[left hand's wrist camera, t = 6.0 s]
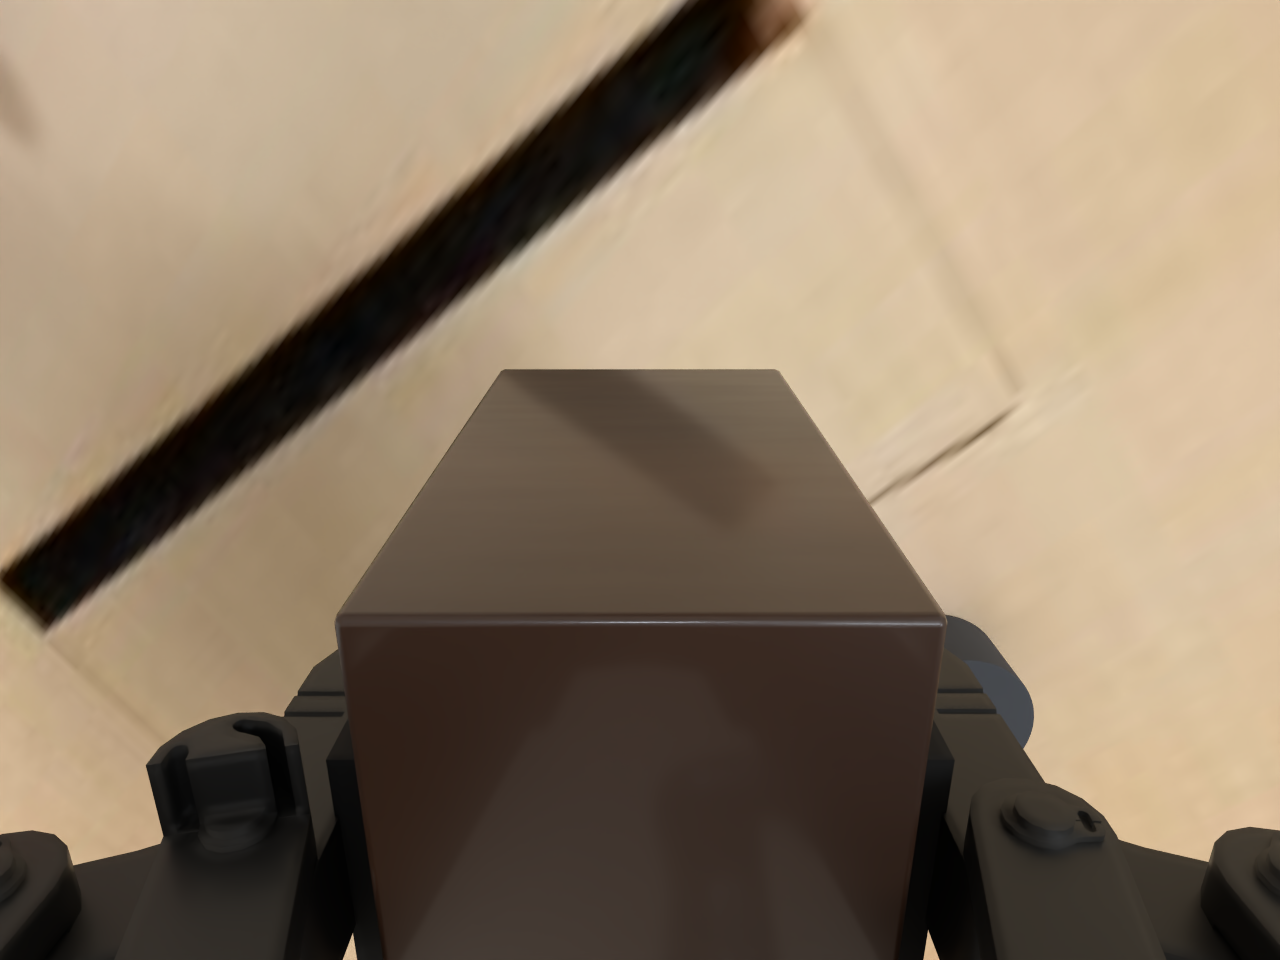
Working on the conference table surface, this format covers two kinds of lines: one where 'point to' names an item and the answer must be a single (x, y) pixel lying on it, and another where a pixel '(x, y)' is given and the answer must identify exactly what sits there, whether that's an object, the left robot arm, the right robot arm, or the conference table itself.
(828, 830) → the bar
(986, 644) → the puck
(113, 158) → the conference table surface
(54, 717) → the conference table surface
